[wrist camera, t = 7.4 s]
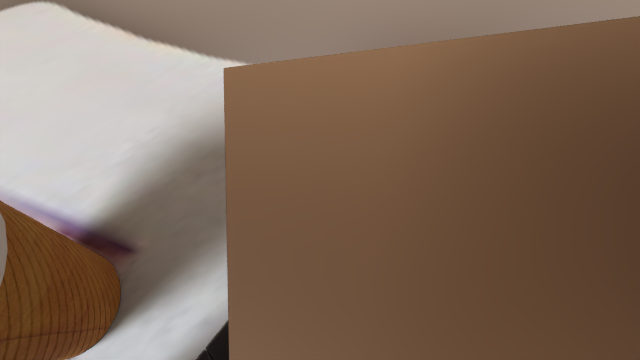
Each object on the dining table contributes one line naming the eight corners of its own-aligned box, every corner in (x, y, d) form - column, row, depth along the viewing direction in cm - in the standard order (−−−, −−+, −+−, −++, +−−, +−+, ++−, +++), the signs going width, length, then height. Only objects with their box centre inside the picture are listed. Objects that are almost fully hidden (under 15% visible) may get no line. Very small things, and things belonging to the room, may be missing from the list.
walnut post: (443, 376, 14) (1219, 735, 2) (325, 391, 14) (238, 864, 2) (417, 257, 15) (704, 8, 3) (312, 270, 15) (223, 67, 3)
